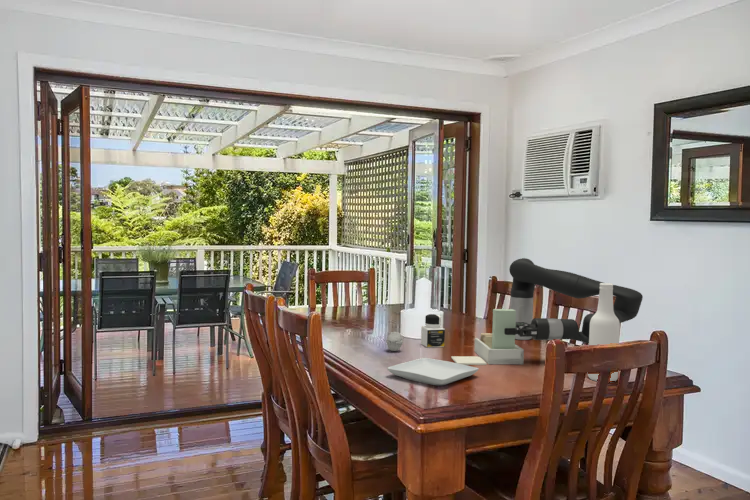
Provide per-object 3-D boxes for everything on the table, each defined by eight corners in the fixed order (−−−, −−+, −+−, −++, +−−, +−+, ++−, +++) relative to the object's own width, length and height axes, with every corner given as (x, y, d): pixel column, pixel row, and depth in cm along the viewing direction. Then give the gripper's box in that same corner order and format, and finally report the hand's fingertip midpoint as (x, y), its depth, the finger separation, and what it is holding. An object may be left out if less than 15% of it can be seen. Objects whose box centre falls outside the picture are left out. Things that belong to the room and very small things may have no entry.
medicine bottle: (427, 347, 230) (427, 316, 229) (420, 344, 237) (421, 313, 236) (444, 347, 232) (445, 316, 231) (437, 343, 239) (438, 313, 238)
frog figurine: (404, 349, 225) (404, 331, 225) (400, 353, 219) (400, 334, 218) (388, 348, 227) (389, 330, 227) (383, 352, 220) (384, 333, 220)
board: (491, 354, 211) (493, 309, 210) (511, 354, 212) (512, 309, 211) (494, 356, 208) (495, 310, 207) (514, 357, 208) (515, 310, 207)
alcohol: (610, 375, 194) (614, 282, 192) (622, 383, 185) (626, 285, 183) (583, 375, 193) (586, 281, 192) (594, 382, 184) (598, 284, 183)
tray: (474, 351, 225) (474, 338, 225) (506, 351, 226) (506, 338, 226) (488, 364, 205) (489, 349, 205) (523, 364, 206) (523, 349, 206)
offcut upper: (480, 340, 224) (480, 333, 224) (500, 339, 225) (501, 333, 225) (486, 343, 218) (486, 336, 218) (507, 343, 219) (507, 336, 219)
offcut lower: (480, 346, 224) (480, 339, 224) (501, 346, 225) (501, 340, 225) (484, 350, 218) (485, 343, 218) (506, 350, 219) (506, 343, 219)
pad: (451, 358, 213) (451, 356, 213) (479, 358, 214) (479, 356, 214) (457, 364, 204) (457, 363, 203) (486, 364, 204) (486, 363, 204)
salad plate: (424, 366, 203) (424, 355, 202) (480, 377, 189) (480, 366, 189) (384, 377, 186) (384, 366, 186) (442, 391, 173) (443, 379, 173)
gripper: (554, 344, 204) (506, 344, 202) (539, 335, 218) (495, 335, 216) (554, 321, 203) (507, 321, 202) (540, 315, 217) (495, 315, 216)
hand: (501, 329), depth 209 cm, fingers open, 8 cm apart
